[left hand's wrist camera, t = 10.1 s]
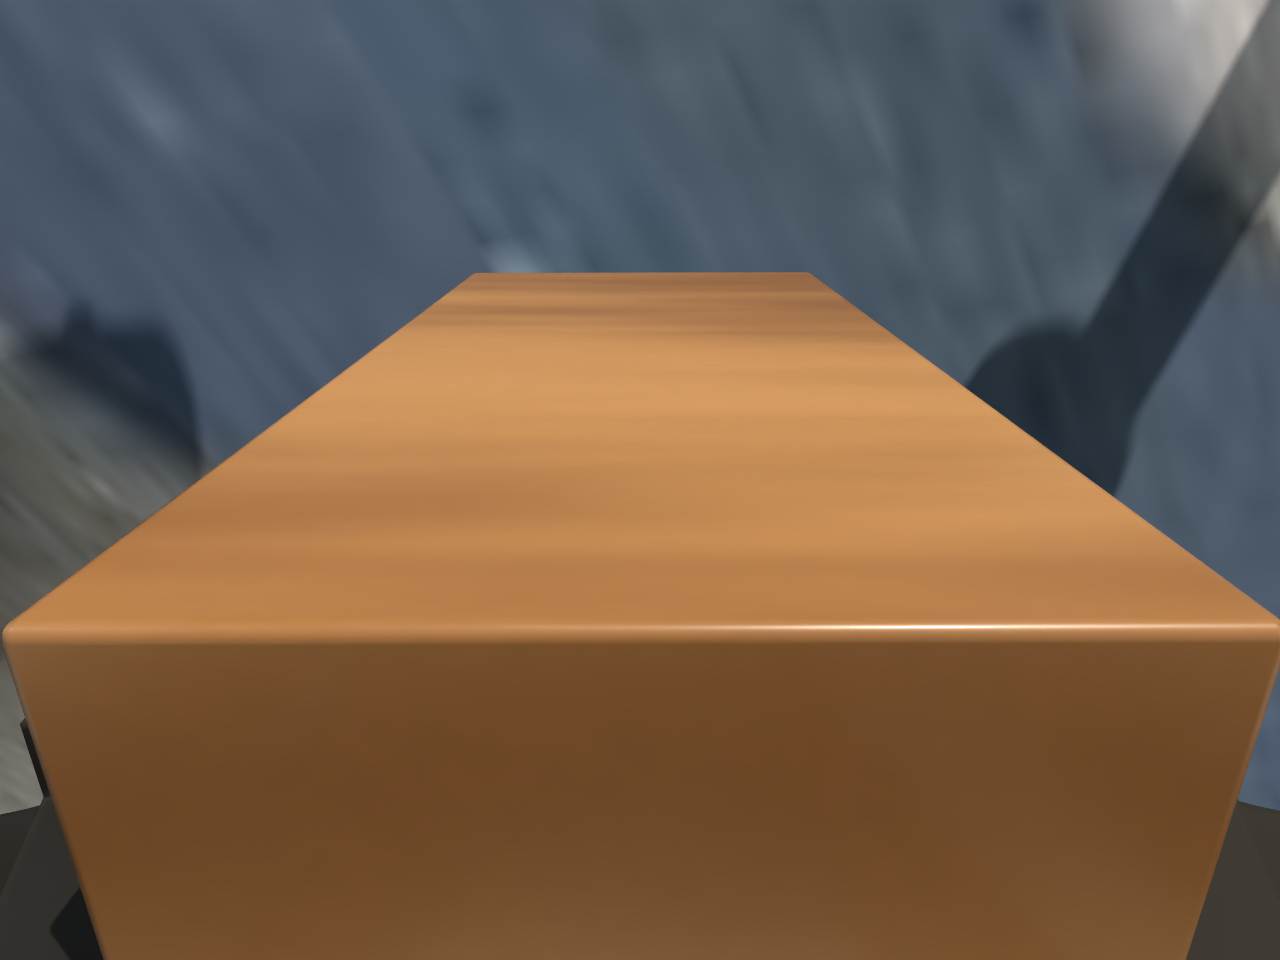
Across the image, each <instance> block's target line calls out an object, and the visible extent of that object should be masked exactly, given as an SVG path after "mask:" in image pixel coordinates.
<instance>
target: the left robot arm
mask: <svg viewBox="0 0 1280 960" xmlns="http://www.w3.org/2000/svg"><path fill="white" fill-rule="evenodd" d="M20 726H21V729H22V732H23V735H24V738H25V741H26V744H27V747H28V750H29V753H30V756H31V759H32V763H33V766H34V769H35V772H36V775H37V778H38V781H39V784H40V787H41V790H42V793H43V796H44V798H43V800H42V802H41V805H40V806H36V807H32V808H29V809H24V810H20V811H15V812H10V813H6V814H1V815H0V960H103V957H102V954H101V950H100V947H99V944H98V941H97V938H96V935H95V932H94V929H93V926H92V923H91V919H90V916H89V913H88V910H87V907H86V904H85V901H84V898H83V895H82V891H81V888H80V885H79V882H78V879H77V876H76V873H75V870H74V867H73V864H72V860H71V857H70V854H69V851H68V848H67V845H66V842H65V839H64V836H63V832H62V829H61V826H60V823H59V820H58V817H57V814H56V811H55V808H54V805H53V801H52V798H51V795H50V792H49V789H48V786H47V783H46V780H45V777H44V773H43V770H42V767H41V764H40V761H39V758H38V755H37V752H36V749H35V746H34V742H33V739H32V736H31V733H30V730H29V727H28V724H27V721H26V718H25V719H24V720H23V721H22V722H21V723H20ZM1186 960H1280V811H1278V810H1273V809H1268V808H1264V807H1259V806H1254V805H1251V804H1247V803H1243V802H1240V801H1238V799H1237V802H1236V805H1235V808H1234V811H1233V814H1232V817H1231V821H1230V824H1229V827H1228V830H1227V833H1226V836H1225V839H1224V842H1223V845H1222V849H1221V852H1220V855H1219V858H1218V861H1217V864H1216V867H1215V870H1214V873H1213V877H1212V880H1211V883H1210V886H1209V889H1208V892H1207V895H1206V898H1205V902H1204V905H1203V908H1202V911H1201V914H1200V917H1199V920H1198V923H1197V926H1196V930H1195V933H1194V936H1193V939H1192V942H1191V945H1190V948H1189V951H1188V955H1187V958H1186Z"/></svg>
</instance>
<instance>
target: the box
mask: <svg viewBox="0 0 1280 960" xmlns="http://www.w3.org/2000/svg"><path fill="white" fill-rule="evenodd" d="M1 643H2V646H3V649H4V652H5V656H6V659H7V662H8V665H9V668H10V671H11V674H12V677H13V680H14V683H15V687H16V690H17V693H18V696H19V699H20V702H21V705H22V708H23V711H24V715H25V718H26V721H27V724H28V727H29V730H30V733H31V736H32V739H33V742H34V746H35V749H36V752H37V755H38V758H39V761H40V764H41V767H42V770H43V773H44V777H45V780H46V783H47V786H48V789H49V792H50V795H51V798H52V801H53V805H54V808H55V811H56V814H57V817H58V820H59V823H60V826H61V829H62V832H63V836H64V839H65V842H66V845H67V848H68V851H69V854H70V857H71V860H72V864H73V867H74V870H75V873H76V876H77V879H78V882H79V885H80V888H81V891H82V895H83V898H84V901H85V904H86V907H87V910H88V913H89V916H90V919H91V923H92V926H93V929H94V932H95V935H96V938H97V941H98V944H99V947H100V950H101V954H102V957H103V960H1186V958H1187V955H1188V951H1189V948H1190V945H1191V942H1192V939H1193V936H1194V933H1195V930H1196V926H1197V923H1198V920H1199V917H1200V914H1201V911H1202V908H1203V905H1204V902H1205V898H1206V895H1207V892H1208V889H1209V886H1210V883H1211V880H1212V877H1213V873H1214V870H1215V867H1216V864H1217V861H1218V858H1219V855H1220V852H1221V849H1222V845H1223V842H1224V839H1225V836H1226V833H1227V830H1228V827H1229V824H1230V821H1231V817H1232V814H1233V811H1234V808H1235V805H1236V802H1237V799H1238V796H1239V792H1240V789H1241V786H1242V783H1243V780H1244V777H1245V774H1246V771H1247V768H1248V764H1249V761H1250V758H1251V755H1252V752H1253V749H1254V746H1255V743H1256V740H1257V736H1258V733H1259V730H1260V727H1261V724H1262V721H1263V718H1264V715H1265V711H1266V708H1267V705H1268V702H1269V699H1270V696H1271V693H1272V690H1273V687H1274V683H1275V680H1276V677H1277V674H1278V671H1279V668H1280V619H1278V618H1277V617H1276V616H1274V615H1273V614H1272V613H1270V612H1269V611H1268V610H1266V609H1265V608H1263V607H1262V606H1261V605H1259V604H1258V603H1257V602H1255V601H1254V600H1253V599H1251V598H1250V597H1249V596H1247V595H1246V594H1244V593H1243V592H1242V591H1240V590H1239V589H1238V588H1236V587H1235V586H1234V585H1232V584H1231V583H1230V582H1228V581H1227V580H1225V579H1224V578H1223V577H1221V576H1220V575H1219V574H1217V573H1216V572H1215V571H1213V570H1212V569H1211V568H1209V567H1208V566H1206V565H1205V564H1204V563H1202V562H1201V561H1200V560H1198V559H1197V558H1196V557H1194V556H1193V555H1192V554H1190V553H1189V552H1187V551H1186V550H1185V549H1183V548H1182V547H1181V546H1179V545H1178V544H1177V543H1175V542H1174V541H1173V540H1171V539H1170V538H1168V537H1167V536H1166V535H1164V534H1163V533H1162V532H1160V531H1159V530H1158V529H1156V528H1155V527H1154V526H1152V525H1151V524H1149V523H1148V522H1147V521H1145V520H1144V519H1143V518H1141V517H1140V516H1139V515H1137V514H1136V513H1134V512H1133V511H1132V510H1130V509H1129V508H1128V507H1126V506H1125V505H1124V504H1122V503H1121V502H1120V501H1118V500H1117V499H1115V498H1114V497H1113V496H1111V495H1110V494H1109V493H1107V492H1106V491H1105V490H1103V489H1102V488H1101V487H1099V486H1098V485H1096V484H1095V483H1094V482H1092V481H1091V480H1090V479H1088V478H1087V477H1086V476H1084V475H1083V474H1082V473H1080V472H1079V471H1077V470H1076V469H1075V468H1073V467H1072V466H1071V465H1069V464H1068V463H1067V462H1065V461H1064V460H1063V459H1061V458H1060V457H1058V456H1057V455H1056V454H1054V453H1053V452H1052V451H1050V450H1049V449H1048V448H1046V447H1045V446H1044V445H1042V444H1041V443H1039V442H1038V441H1037V440H1035V439H1034V438H1033V437H1031V436H1030V435H1029V434H1027V433H1026V432H1025V431H1023V430H1022V429H1020V428H1019V427H1018V426H1016V425H1015V424H1014V423H1012V422H1011V421H1010V420H1008V419H1007V418H1006V417H1004V416H1003V415H1001V414H1000V413H999V412H997V411H996V410H995V409H993V408H992V407H991V406H989V405H988V404H986V403H985V402H984V401H982V400H981V399H980V398H978V397H977V396H976V395H974V394H973V393H972V392H970V391H969V390H967V389H966V388H965V387H963V386H962V385H961V384H959V383H958V382H957V381H955V380H954V379H953V378H951V377H950V376H948V375H947V374H946V373H944V372H943V371H942V370H940V369H939V368H938V367H936V366H935V365H934V364H932V363H931V362H929V361H928V360H927V359H925V358H924V357H923V356H921V355H920V354H919V353H917V352H916V351H915V350H913V349H912V348H910V347H909V346H908V345H906V344H905V343H904V342H902V341H901V340H900V339H898V338H897V337H896V336H894V335H893V334H891V333H890V332H889V331H887V330H886V329H885V328H883V327H882V326H881V325H879V324H878V323H877V322H875V321H874V320H872V319H871V318H870V317H868V316H867V315H866V314H864V313H863V312H862V311H860V310H859V309H857V308H856V307H855V306H853V305H852V304H851V303H849V302H848V301H847V300H845V299H844V298H843V297H841V296H840V295H838V294H837V293H836V292H834V291H833V290H832V289H830V288H829V287H828V286H826V285H825V284H824V283H822V282H821V281H819V280H818V279H817V278H815V277H814V276H813V275H811V274H810V273H807V272H766V273H475V274H473V275H471V276H470V277H469V278H467V279H466V280H465V281H463V282H462V283H461V284H459V285H458V286H457V287H455V288H454V289H453V290H451V291H450V292H449V293H447V294H446V295H445V296H443V297H442V298H441V299H439V300H438V301H437V302H435V303H434V304H433V305H431V306H430V307H429V308H427V309H426V310H425V311H423V312H422V313H421V314H419V315H418V316H417V317H415V318H414V319H413V320H411V321H410V322H409V323H407V324H406V325H405V326H403V327H402V328H401V329H399V330H398V331H397V332H395V333H394V334H393V335H391V336H390V337H389V338H387V339H386V340H385V341H383V342H382V343H381V344H379V345H378V346H377V347H375V348H374V349H373V350H371V351H370V352H369V353H367V354H366V355H365V356H363V357H362V358H361V359H359V360H358V361H357V362H355V363H354V364H353V365H351V366H350V367H349V368H347V369H346V370H345V371H343V372H342V373H341V374H339V375H338V376H337V377H335V378H334V379H333V380H331V381H330V382H329V383H327V384H326V385H325V386H323V387H322V388H321V389H319V390H318V391H317V392H315V393H314V394H313V395H311V396H310V397H309V398H307V399H306V400H305V401H303V402H302V403H301V404H299V405H298V406H297V407H295V408H294V409H293V410H291V411H290V412H289V413H287V414H286V415H285V416H283V417H282V418H281V419H279V420H278V421H277V422H275V423H274V424H273V425H271V426H270V427H269V428H267V429H266V430H265V431H263V432H262V433H261V434H259V435H258V436H257V437H255V438H254V439H253V440H251V441H250V442H249V443H247V444H246V445H245V446H243V447H242V448H241V449H239V450H238V451H237V452H235V453H234V454H233V455H231V456H230V457H229V458H227V459H226V460H225V461H223V462H222V463H221V464H219V465H218V466H217V467H215V468H214V469H213V470H211V471H210V472H209V473H207V474H206V475H205V476H203V477H202V478H201V479H199V480H198V481H197V482H195V483H194V484H193V485H192V486H190V487H189V488H188V489H186V490H185V491H184V492H182V493H181V494H180V495H178V496H177V497H176V498H174V499H173V500H172V501H170V502H169V503H168V504H166V505H165V506H164V507H162V508H161V509H160V510H158V511H157V512H156V513H154V514H153V515H152V516H150V517H149V518H148V519H146V520H145V521H144V522H142V523H141V524H140V525H138V526H137V527H136V528H134V529H133V530H132V531H130V532H129V533H128V534H126V535H125V536H124V537H122V538H121V539H120V540H118V541H117V542H116V543H114V544H113V545H112V546H110V547H109V548H108V549H106V550H105V551H104V552H102V553H101V554H100V555H98V556H97V557H96V558H94V559H93V560H92V561H90V562H89V563H88V564H86V565H85V566H84V567H82V568H81V569H80V570H78V571H77V572H76V573H74V574H73V575H72V576H70V577H69V578H68V579H66V580H65V581H64V582H62V583H61V584H60V585H58V586H57V587H56V588H54V589H53V590H52V591H50V592H49V593H48V594H46V595H45V596H44V597H42V598H41V599H40V600H38V601H37V602H36V603H34V604H33V605H32V606H30V607H29V608H28V609H26V610H25V611H24V612H22V613H21V614H20V615H18V616H17V617H16V618H14V619H13V620H12V621H10V622H9V623H8V624H7V625H6V627H5V629H4V630H3V633H2V642H1Z"/></svg>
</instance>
